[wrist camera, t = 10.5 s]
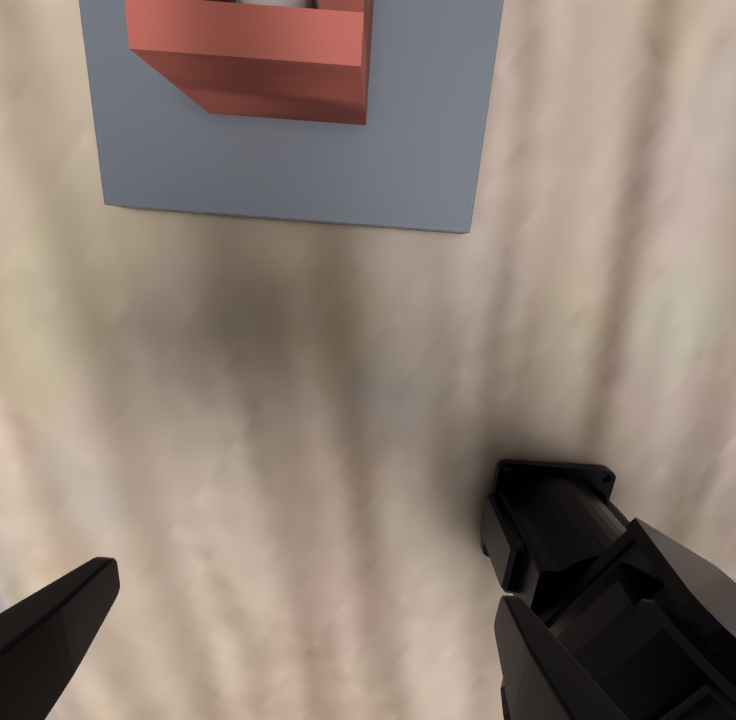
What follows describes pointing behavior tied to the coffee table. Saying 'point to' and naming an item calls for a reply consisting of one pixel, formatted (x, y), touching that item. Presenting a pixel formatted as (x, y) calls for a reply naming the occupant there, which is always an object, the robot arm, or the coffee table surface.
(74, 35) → the coffee table surface
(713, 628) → the robot arm
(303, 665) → the coffee table surface
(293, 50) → the red square tube
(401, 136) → the flat gray board
